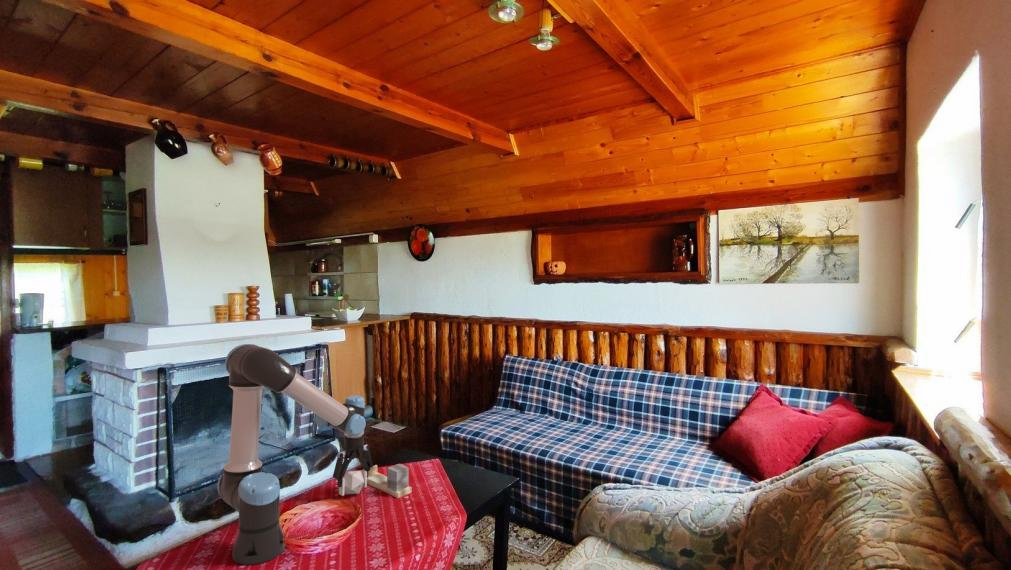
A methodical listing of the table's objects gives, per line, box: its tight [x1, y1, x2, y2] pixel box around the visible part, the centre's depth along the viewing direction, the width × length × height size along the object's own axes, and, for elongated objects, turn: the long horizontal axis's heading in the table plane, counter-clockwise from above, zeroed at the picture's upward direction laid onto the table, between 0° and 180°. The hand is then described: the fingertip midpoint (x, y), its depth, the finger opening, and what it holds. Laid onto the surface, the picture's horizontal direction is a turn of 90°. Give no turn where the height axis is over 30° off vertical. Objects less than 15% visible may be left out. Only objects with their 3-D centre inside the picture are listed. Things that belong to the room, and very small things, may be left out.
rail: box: [362, 463, 413, 499], centre depth 207 cm, size 7×24×10 cm, turn 51°
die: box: [343, 470, 365, 495], centre depth 199 cm, size 8×9×10 cm
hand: (352, 490), depth 199 cm, fingers closed on die, 10 cm apart
